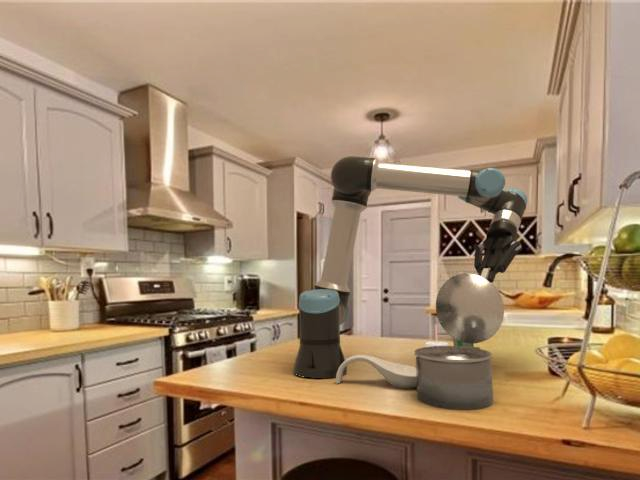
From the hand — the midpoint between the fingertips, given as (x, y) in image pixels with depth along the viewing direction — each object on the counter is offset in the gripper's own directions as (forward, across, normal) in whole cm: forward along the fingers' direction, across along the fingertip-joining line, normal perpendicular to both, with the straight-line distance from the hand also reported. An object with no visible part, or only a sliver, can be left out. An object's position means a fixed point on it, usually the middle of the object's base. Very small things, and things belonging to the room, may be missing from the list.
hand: (481, 290), depth 104 cm
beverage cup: (+18, +12, -15) cm, 26 cm away
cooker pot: (+28, 0, -5) cm, 29 cm away
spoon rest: (+29, +19, -5) cm, 35 cm away
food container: (+2, +15, -31) cm, 34 cm away
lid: (+9, 0, +3) cm, 9 cm away
